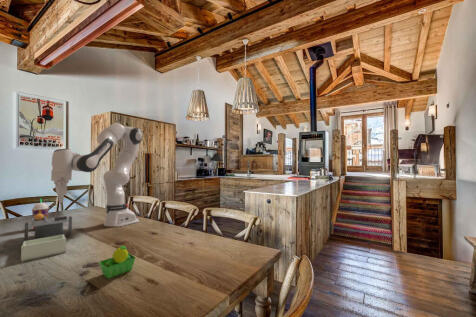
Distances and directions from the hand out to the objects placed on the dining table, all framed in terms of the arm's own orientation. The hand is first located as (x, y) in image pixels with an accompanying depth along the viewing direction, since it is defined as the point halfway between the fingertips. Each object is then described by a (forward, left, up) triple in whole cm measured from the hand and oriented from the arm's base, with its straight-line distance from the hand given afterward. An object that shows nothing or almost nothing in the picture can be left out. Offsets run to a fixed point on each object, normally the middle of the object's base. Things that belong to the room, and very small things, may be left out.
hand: (60, 202), depth 120 cm
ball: (+9, -22, -11) cm, 26 cm away
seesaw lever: (+4, -10, -12) cm, 17 cm away
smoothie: (+8, -38, -22) cm, 45 cm away
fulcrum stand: (+4, -10, -22) cm, 25 cm away
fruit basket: (-16, +59, -22) cm, 65 cm away
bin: (+6, +13, -22) cm, 26 cm away
